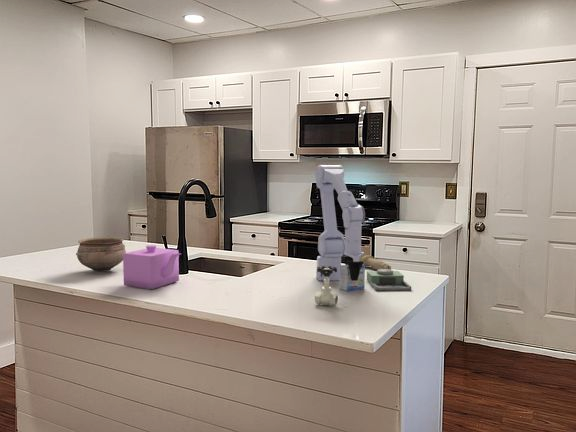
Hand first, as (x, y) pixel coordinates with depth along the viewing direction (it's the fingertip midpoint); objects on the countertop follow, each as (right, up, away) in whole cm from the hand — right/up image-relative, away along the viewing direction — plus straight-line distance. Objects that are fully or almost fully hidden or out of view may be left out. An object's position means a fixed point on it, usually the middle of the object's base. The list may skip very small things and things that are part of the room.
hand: (352, 278), depth 182 cm
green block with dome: (+13, -3, +10) cm, 17 cm away
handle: (+18, 0, +26) cm, 32 cm away
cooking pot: (-100, 0, +30) cm, 104 cm away
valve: (-11, -6, -21) cm, 25 cm away
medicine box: (0, -4, 0) cm, 4 cm away
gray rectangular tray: (+14, -4, +2) cm, 15 cm away
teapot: (-72, -3, +7) cm, 73 cm away
